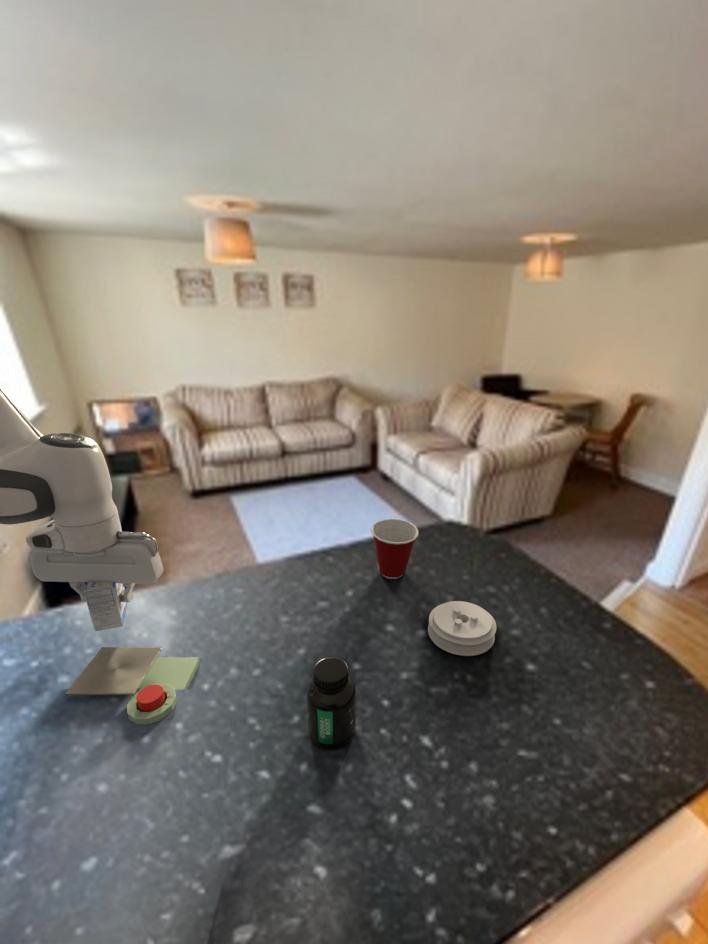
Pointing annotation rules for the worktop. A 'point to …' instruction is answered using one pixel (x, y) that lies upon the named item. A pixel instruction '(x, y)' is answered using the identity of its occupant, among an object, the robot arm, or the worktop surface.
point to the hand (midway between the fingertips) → (107, 600)
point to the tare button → (150, 698)
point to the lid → (462, 628)
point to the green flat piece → (164, 686)
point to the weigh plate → (115, 671)
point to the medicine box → (105, 604)
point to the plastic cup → (393, 545)
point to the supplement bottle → (331, 704)
